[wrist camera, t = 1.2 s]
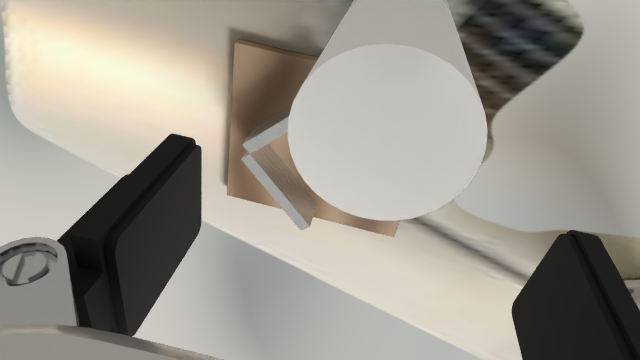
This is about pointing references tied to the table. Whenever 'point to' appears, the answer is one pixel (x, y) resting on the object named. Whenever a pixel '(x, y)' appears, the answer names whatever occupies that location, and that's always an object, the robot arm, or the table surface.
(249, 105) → the v cradle
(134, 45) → the table surface
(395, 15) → the cylindrical container
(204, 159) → the table surface
